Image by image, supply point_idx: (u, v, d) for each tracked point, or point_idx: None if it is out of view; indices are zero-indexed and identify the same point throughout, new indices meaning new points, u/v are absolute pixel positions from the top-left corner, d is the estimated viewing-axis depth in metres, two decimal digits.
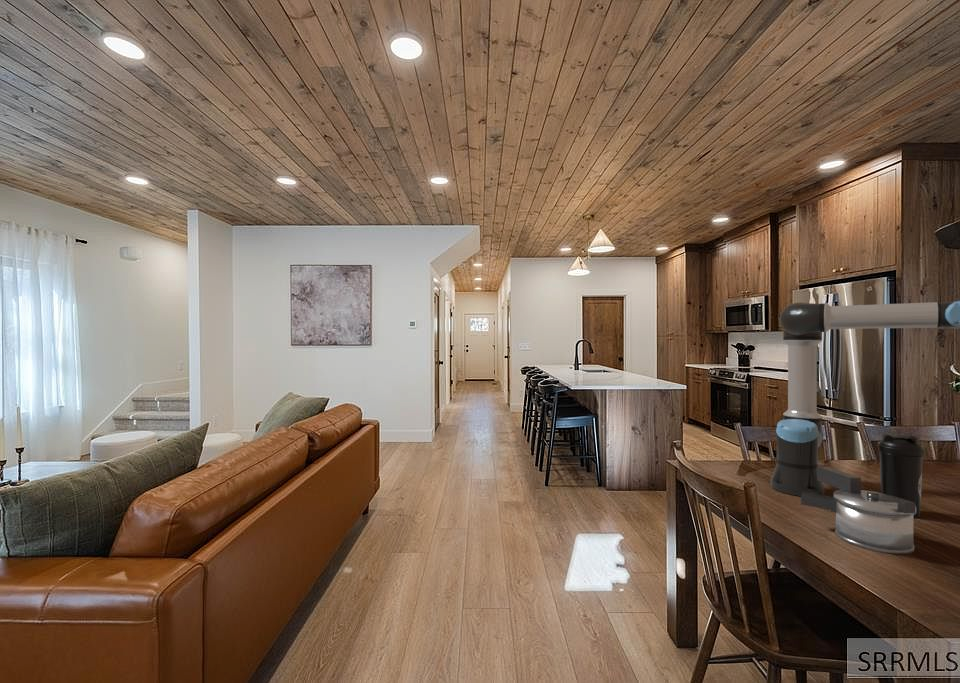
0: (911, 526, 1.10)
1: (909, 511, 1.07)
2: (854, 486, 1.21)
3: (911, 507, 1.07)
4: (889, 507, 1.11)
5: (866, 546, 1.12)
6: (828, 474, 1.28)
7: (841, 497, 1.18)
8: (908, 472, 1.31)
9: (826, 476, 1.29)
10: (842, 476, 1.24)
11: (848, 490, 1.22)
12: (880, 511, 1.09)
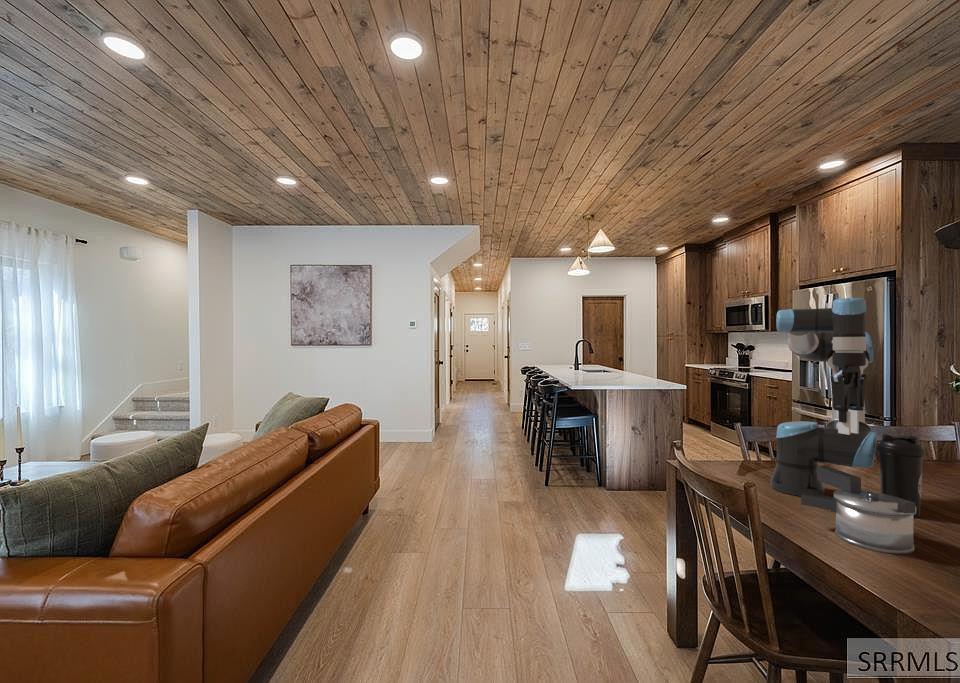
0: (911, 526, 1.10)
1: (909, 511, 1.07)
2: (854, 486, 1.21)
3: (911, 507, 1.07)
4: (889, 507, 1.11)
5: (866, 546, 1.12)
6: (828, 474, 1.28)
7: (841, 497, 1.18)
8: (908, 472, 1.31)
9: (826, 476, 1.29)
10: (842, 476, 1.24)
11: (848, 490, 1.22)
12: (880, 511, 1.09)
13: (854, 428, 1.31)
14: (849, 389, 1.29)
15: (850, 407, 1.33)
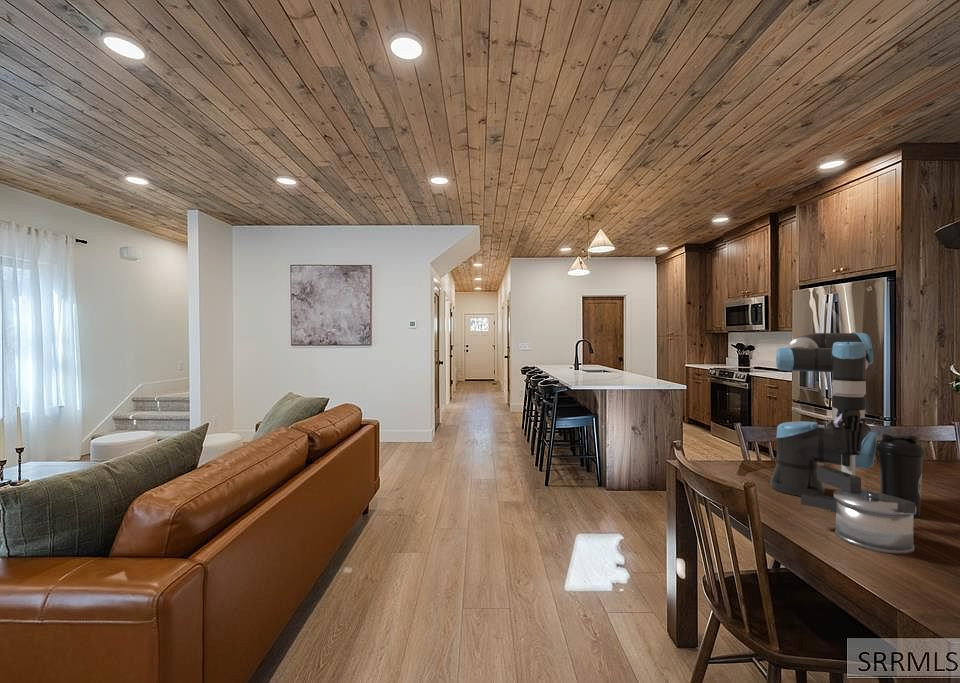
0: (911, 526, 1.10)
1: (909, 511, 1.07)
2: (854, 486, 1.21)
3: (911, 507, 1.07)
4: (889, 507, 1.11)
5: (866, 546, 1.12)
6: (828, 474, 1.28)
7: (841, 497, 1.18)
8: (908, 472, 1.31)
9: (826, 476, 1.29)
10: (842, 476, 1.24)
11: (848, 490, 1.22)
12: (880, 511, 1.09)
13: None
14: (850, 433, 1.29)
15: None
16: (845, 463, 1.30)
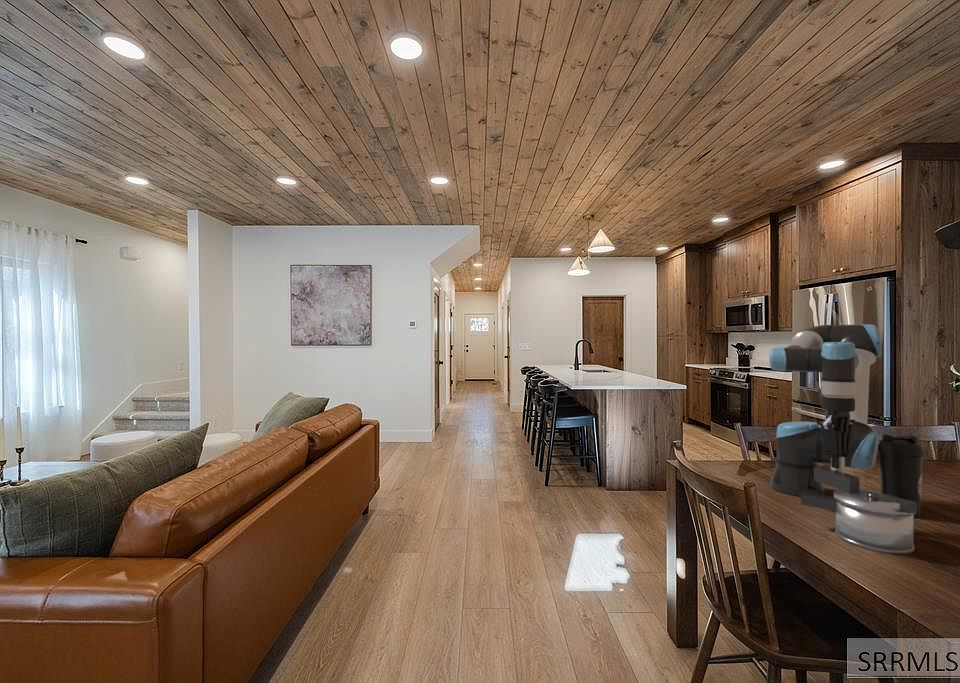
0: (911, 526, 1.10)
1: (911, 511, 1.07)
2: (853, 486, 1.21)
3: (913, 507, 1.07)
4: (891, 507, 1.11)
5: (866, 546, 1.12)
6: (826, 474, 1.28)
7: (842, 498, 1.17)
8: (908, 472, 1.31)
9: (824, 476, 1.29)
10: (841, 476, 1.24)
11: (847, 490, 1.22)
12: (883, 511, 1.09)
13: None
14: (840, 435, 1.27)
15: None
16: (835, 465, 1.28)
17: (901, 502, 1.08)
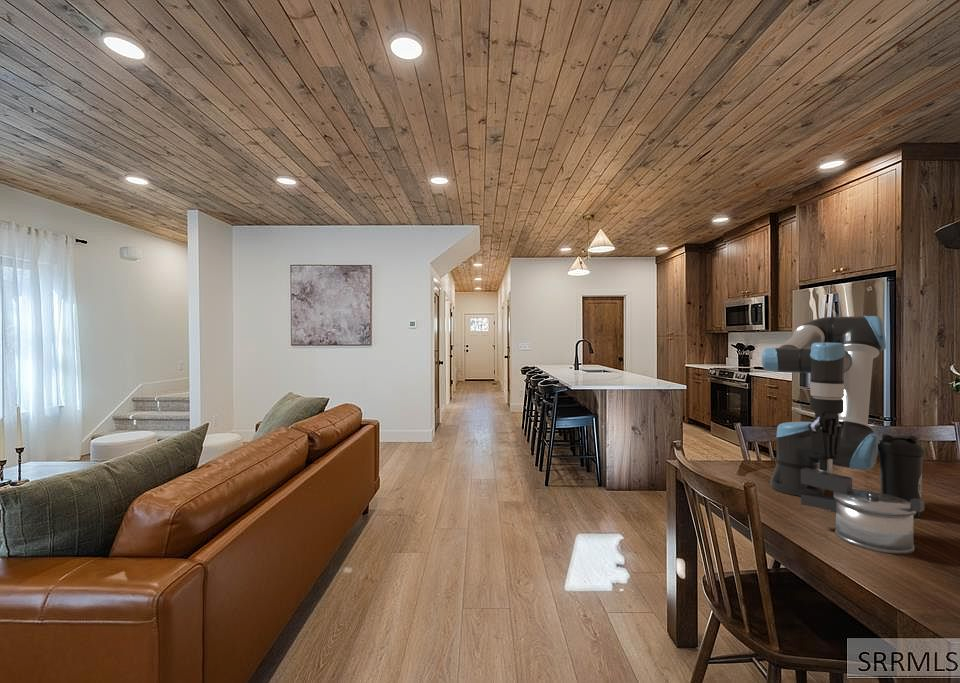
0: (911, 526, 1.10)
1: (922, 509, 1.08)
2: (849, 487, 1.20)
3: (922, 505, 1.08)
4: (899, 507, 1.11)
5: (866, 546, 1.12)
6: (816, 476, 1.26)
7: (852, 501, 1.14)
8: (908, 472, 1.31)
9: (813, 478, 1.27)
10: (835, 478, 1.22)
11: (844, 492, 1.20)
12: (899, 513, 1.08)
13: None
14: (828, 437, 1.26)
15: None
16: (822, 467, 1.26)
17: (912, 501, 1.09)
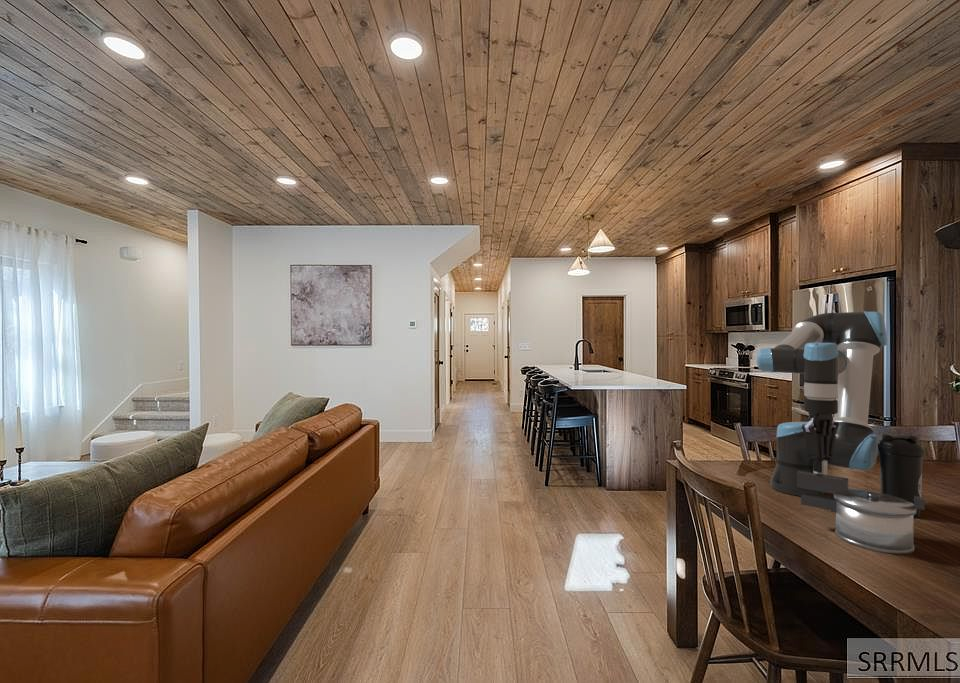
0: (911, 526, 1.10)
1: None
2: (847, 488, 1.19)
3: None
4: (903, 506, 1.12)
5: (866, 546, 1.12)
6: (814, 479, 1.23)
7: (863, 504, 1.12)
8: (908, 472, 1.31)
9: (811, 481, 1.24)
10: (835, 480, 1.20)
11: (844, 494, 1.19)
12: (908, 513, 1.09)
13: None
14: (822, 438, 1.24)
15: None
16: (817, 469, 1.25)
17: (916, 499, 1.10)
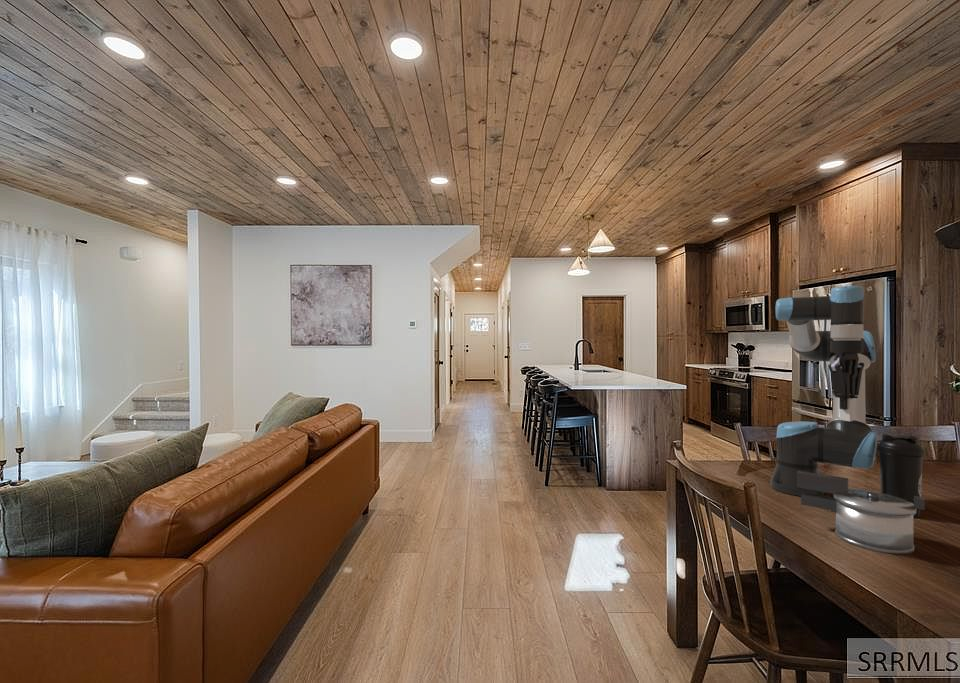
0: (911, 526, 1.10)
1: None
2: (847, 488, 1.19)
3: None
4: (903, 506, 1.12)
5: (866, 546, 1.12)
6: (814, 479, 1.23)
7: (863, 504, 1.12)
8: (908, 472, 1.31)
9: (811, 481, 1.24)
10: (835, 480, 1.20)
11: (844, 494, 1.19)
12: (908, 513, 1.09)
13: None
14: (848, 376, 1.30)
15: None
16: (843, 406, 1.31)
17: (916, 499, 1.10)
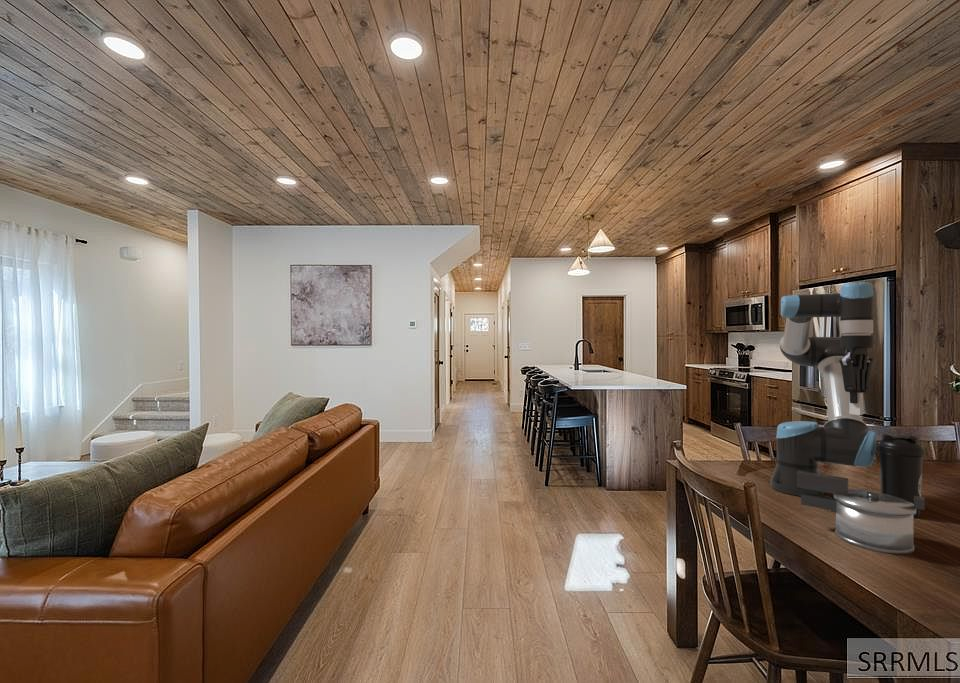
0: (911, 526, 1.10)
1: None
2: (847, 488, 1.19)
3: None
4: (903, 506, 1.12)
5: (866, 546, 1.12)
6: (814, 479, 1.23)
7: (863, 504, 1.12)
8: (908, 472, 1.31)
9: (811, 481, 1.24)
10: (835, 480, 1.20)
11: (844, 494, 1.19)
12: (908, 513, 1.09)
13: None
14: (858, 371, 1.33)
15: None
16: (853, 400, 1.34)
17: (916, 499, 1.10)
